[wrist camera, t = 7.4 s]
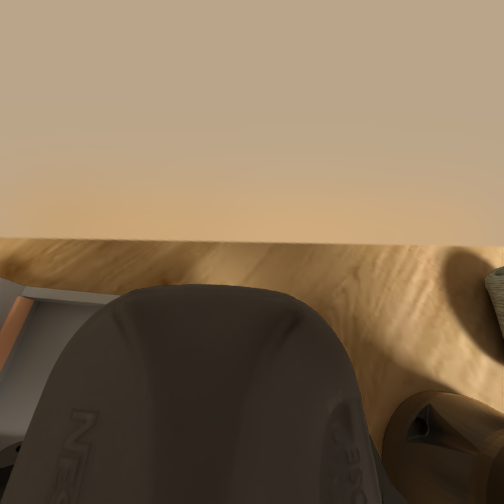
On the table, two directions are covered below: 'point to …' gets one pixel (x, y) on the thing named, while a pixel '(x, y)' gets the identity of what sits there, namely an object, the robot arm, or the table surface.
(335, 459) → the coffee jar
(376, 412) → the table surface
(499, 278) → the spool
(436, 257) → the table surface
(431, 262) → the table surface
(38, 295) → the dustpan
